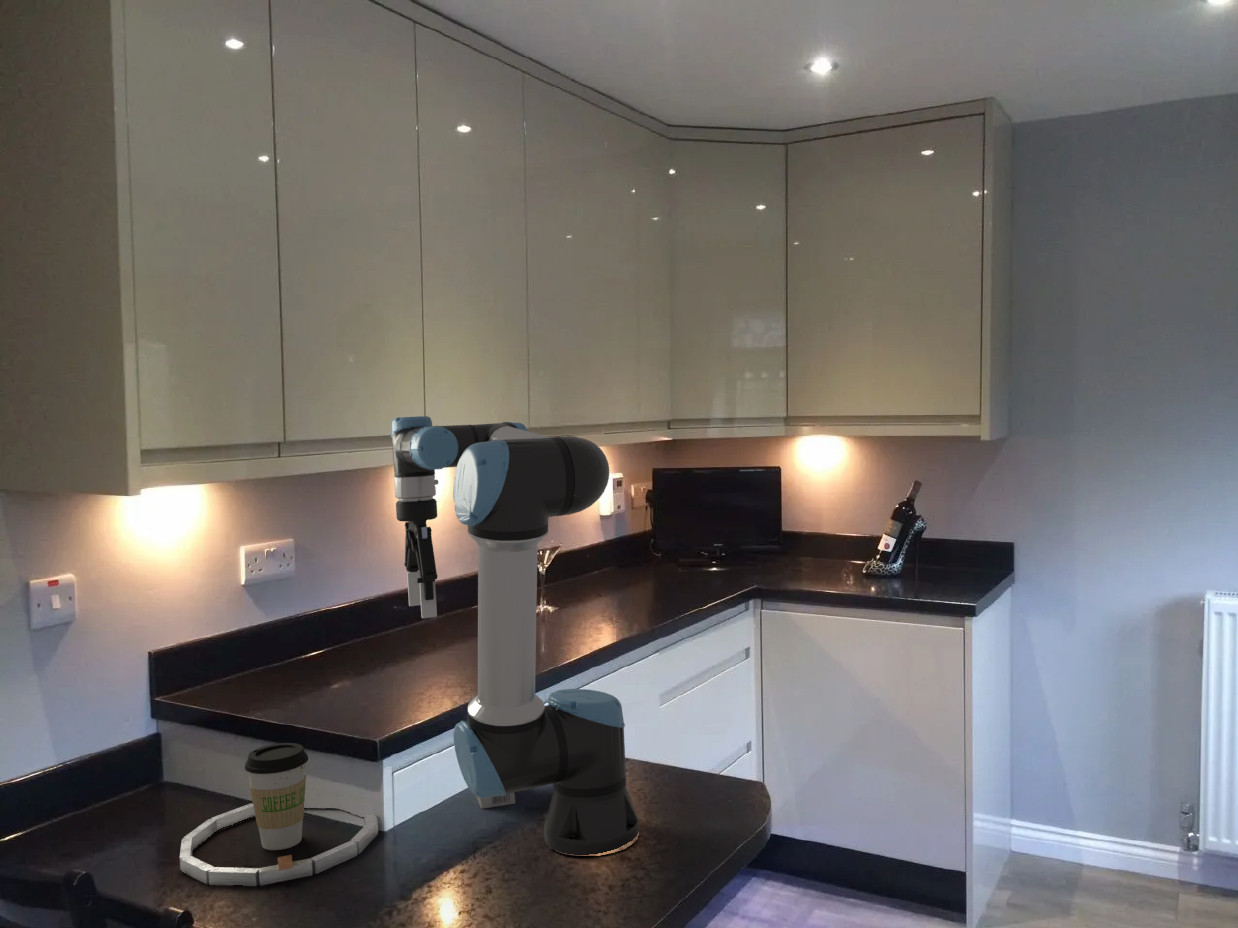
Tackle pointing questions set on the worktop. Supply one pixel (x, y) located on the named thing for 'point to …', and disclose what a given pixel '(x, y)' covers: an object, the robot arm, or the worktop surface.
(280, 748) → the coffee cup
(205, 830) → the centring ring
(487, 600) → the robot arm
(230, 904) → the worktop surface
